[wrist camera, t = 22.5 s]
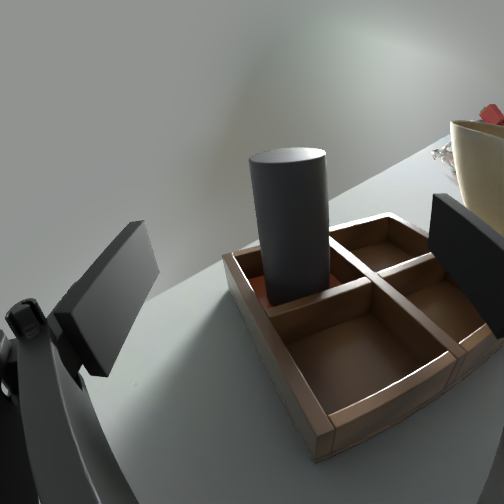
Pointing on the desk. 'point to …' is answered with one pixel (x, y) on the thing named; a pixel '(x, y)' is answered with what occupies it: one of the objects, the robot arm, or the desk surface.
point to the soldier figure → (445, 156)
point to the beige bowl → (480, 169)
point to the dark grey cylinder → (292, 221)
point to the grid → (363, 333)
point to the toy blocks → (492, 115)
